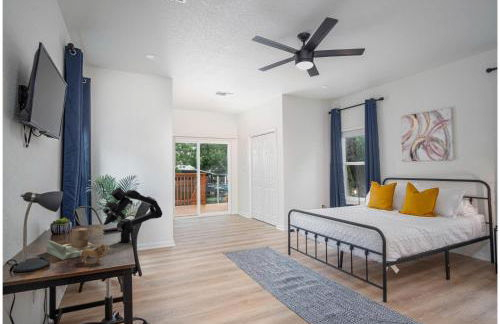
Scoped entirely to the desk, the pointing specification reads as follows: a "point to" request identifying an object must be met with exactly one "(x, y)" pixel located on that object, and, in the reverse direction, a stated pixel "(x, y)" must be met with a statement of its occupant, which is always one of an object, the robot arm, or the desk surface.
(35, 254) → the desk surface
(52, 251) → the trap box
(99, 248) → the lion figurine
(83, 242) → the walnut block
